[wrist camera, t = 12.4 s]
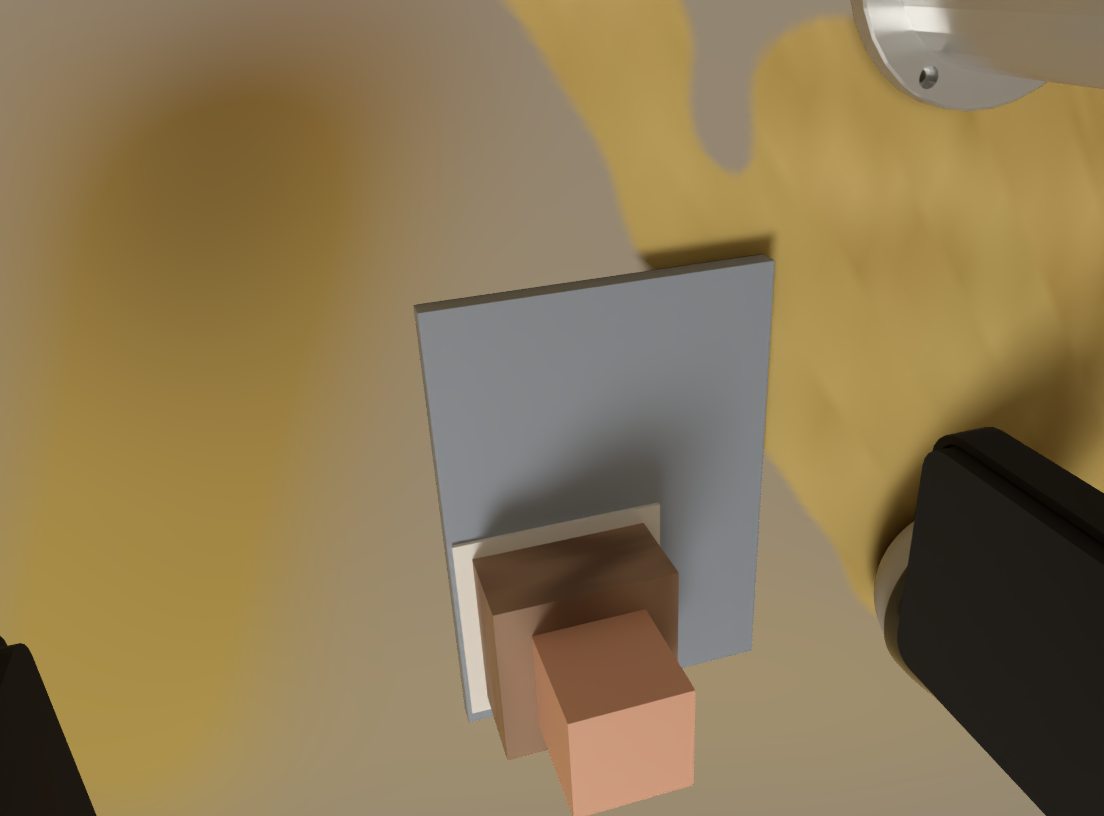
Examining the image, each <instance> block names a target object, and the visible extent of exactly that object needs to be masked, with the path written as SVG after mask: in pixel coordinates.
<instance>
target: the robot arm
mask: <svg viewBox="0 0 1104 816" xmlns="http://www.w3.org/2000/svg"><path fill="white" fill-rule="evenodd" d="M851 5H852V10H853V15H854V20H855V24H856V27H857V29H858V32H859V34H860V37H861V39H862V42H863V45H864V47H865V50H866V52H867V53H868V55H869V56H870V58H871V59H872V61H873V62H874V64H875V65H876V67H877V68H878V70H879V71H880V73H881V74H882V75H883V76H884V77H885V78H886V79H887V80H888V81H890V82H891V83H892V84H893V85H894V86H895V87H896V88H897V89H898V90H899V91H901V92H903V93H904V94H906V95H908V96H910V97H912V98H913V99H915V100H917V101H919V102H921V103H925V104H929V105H933V106H937V107H941V108H945V109H953V110H961V111H975V110H984V109H993V108H996V107H999V106H1001V105H1004V104H1007V103H1010V102H1013V101H1016V100H1018V99H1020V98H1022V97H1024V96H1026V95H1027V94H1029V93H1031V92H1033V91H1034V90H1036V89H1038V88H1040V87H1042V86H1043V85H1044V84H1045V83H1047V82H1055V83H1062V84H1069V85H1076V86H1084V87H1091V88H1098V89H1104V0H851ZM897 644H898V649H899V652H900V655H901V657H902V659H903V661H904V663H905V664H906V666H907V667H908V668H909V669H910V671H911V672H912V673H913V674H914V675H915V676H916V677H917V678H918V679H919V680H920V681H921V682H922V683H923V684H924V686H925V687H926V688H927V689H928V690H929V691H930V692H931V693H932V694H933V695H934V696H935V697H936V698H937V699H938V700H939V701H940V703H941V704H943V706H944V707H945V708H946V709H947V710H948V711H949V712H950V713H951V714H952V715H953V716H954V718H955V719H956V720H957V721H958V722H959V723H960V724H961V725H962V726H963V727H964V728H965V729H966V730H967V732H968V733H969V734H970V735H971V736H972V737H973V738H974V739H975V740H976V741H977V742H978V743H979V744H980V745H981V747H982V748H983V749H984V750H985V751H986V752H987V753H988V754H989V755H990V756H991V757H992V758H993V759H994V760H995V761H996V763H997V764H998V765H999V766H1000V767H1001V768H1002V769H1003V770H1004V771H1005V772H1006V773H1007V774H1008V775H1009V776H1010V777H1011V779H1012V780H1013V781H1014V782H1015V783H1016V784H1017V785H1018V786H1019V787H1020V788H1021V789H1022V790H1023V791H1024V793H1026V795H1027V796H1028V797H1029V798H1030V799H1031V800H1032V801H1033V802H1034V803H1035V804H1036V805H1037V806H1038V808H1039V809H1040V810H1041V811H1042V812H1043V813H1044V814H1045V815H1046V816H1104V493H1102V492H1101V491H1099V490H1097V489H1096V488H1094V487H1092V486H1091V485H1089V484H1088V483H1086V482H1084V481H1083V480H1081V479H1080V478H1078V477H1076V476H1075V475H1073V474H1071V473H1070V472H1068V471H1067V470H1065V469H1063V468H1062V467H1060V466H1058V465H1057V464H1055V463H1054V462H1052V461H1050V460H1049V459H1047V458H1045V457H1044V456H1042V455H1041V454H1039V453H1037V452H1036V451H1034V450H1032V449H1031V448H1029V447H1028V446H1026V445H1024V444H1023V443H1021V442H1019V441H1018V440H1016V439H1015V438H1013V437H1011V436H1010V435H1008V434H1006V433H1005V432H1003V431H1002V430H999V429H997V428H994V427H984V428H979V429H974V430H969V431H965V432H960V433H955V434H950V435H945V436H944V437H942V438H940V439H939V440H938V441H937V442H936V444H935V445H934V448H933V451H932V452H930V453H928V455H927V456H926V457H925V459H924V463H923V467H922V474H921V480H920V487H919V493H918V500H917V507H916V513H915V520H914V526H913V533H912V539H911V546H910V553H909V559H908V566H907V572H906V579H905V586H904V592H903V599H902V605H901V612H900V619H899V625H898V632H897ZM0 816H96V813H95V811H94V808H93V806H92V803H91V801H90V799H89V796H88V793H87V791H86V788H85V786H84V784H83V781H82V779H81V776H80V773H79V771H78V769H77V766H76V763H75V761H74V758H73V756H72V753H71V751H70V749H69V746H68V743H67V741H66V738H65V736H64V733H63V731H62V729H61V726H60V724H59V721H58V719H57V716H56V714H55V711H54V709H53V706H52V704H51V701H50V699H49V696H48V694H47V691H46V689H45V686H44V684H43V681H42V679H41V676H40V674H39V671H38V669H37V666H36V664H35V661H34V659H33V656H32V654H31V652H30V650H29V649H28V647H27V646H26V645H25V644H21V643H19V644H14V645H9V646H7V644H6V642H5V640H4V639H3V638H2V637H1V636H0Z"/></svg>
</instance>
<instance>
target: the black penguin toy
mask: <svg viewBox="0 0 1104 816" xmlns="http://www.w3.org/2000/svg"><path fill="white" fill-rule="evenodd" d="M913 526H914V521H913V522H912V523H911V524H909V525H908V526H907V527H906V528H905V529H904V530H903V531H902V532H900V533H899V535H898V536H897V537H896V538H895V539H894V540H893V542H892V543H891V544H890V546H889V547H888V549H887V550H886V552H885V554H884V556H883V558H882V560H881V562H880V565H879V567H878V570H877V574H876V579H875V586H874V603H875V609H876V614H877V617H878V621H879V624H880V626H881V628H882V630H883V633H884V638H885V642H886V646H887V648H888V651H889V653H890V654H891V656H892V657H893V659H894V660H895V661H896V663H897V664H898V665H899V666H900V667H901V668H902V669H903V670H904V671H905V672H906V673H907V674H908V675H909V676H910V677H911V678H912V679H913V680H914V681H915V682H916V683H918V684H919V685H920V686H921V687H923V688H924V689H925V690H926V691H927V692H929V693H930V694H931V695H932V696H934V695H933V694H932V693H931V692H930V691H929V690H928V689H927V688H926V687H925V686H924V684H923V683H922V682H921V681H920V680H919V679H918V678H917V677H916V676H915V675H914V674H913V673H912V672H911V671H910V669H909V668H908V667H907V666H906V664H905V663H904V661H903V659H902V657H901V655H900V652H899V649H898V644H897V632H898V625H899V619H900V612H901V605H902V599H903V592H904V586H905V579H906V572H907V566H908V559H909V553H910V546H911V539H912V533H913ZM934 697H935V696H934ZM935 698H936V697H935ZM936 699H937V698H936ZM937 700H938V699H937Z"/></svg>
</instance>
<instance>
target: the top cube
mask: <svg viewBox="0 0 1104 816" xmlns="http://www.w3.org/2000/svg"><path fill="white" fill-rule="evenodd" d="M532 647H533V659H534V671H535V682H536V694H537V706H538V718H539V727H540V730H541V732H542V735H543V738H544V741H545V743H546V746H547V749H548V751H549V754H550V756H551V759H552V762H553V765H554V767H555V770H556V772H557V775H558V778H559V781H560V783H561V786H562V788H563V792H564V794H565V797H566V799H567V802H568V805H569V808H570V810H571V813H572V816H588V815H591V814H595V813H598V812H602V811H605V810H609V809H612V808H616V807H619V806H622V805H626V804H629V803H633V802H636V801H639V800H643V799H646V798H650V797H653V796H657V795H660V794H664V793H667V792H670V791H674V790H677V789H681V788H684V787H688V786H691V785H693V782H694V733H695V689H694V687H693V686H692V684H691V682H690V681H689V679H688V678H687V676H686V674H685V673H684V671H683V669H682V668H681V666H680V664H679V663H678V661H677V659H676V658H675V656H674V654H673V653H672V651H671V650H670V648H669V646H668V645H667V643H666V641H665V640H664V638H663V636H662V635H661V633H660V631H659V630H658V628H657V627H656V625H655V623H654V622H653V620H652V618H651V617H650V615H649V613H648V612H647V610H646V609H644V610H640V611H636V612H632V613H627V614H623V615H619V616H615V617H611V618H607V619H602V620H598V621H594V622H590V623H586V624H582V625H577V626H573V627H569V628H565V629H561V630H557V631H552V632H548V633H544V634H540V635H536V636H532Z"/></svg>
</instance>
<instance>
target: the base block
mask: <svg viewBox="0 0 1104 816" xmlns="http://www.w3.org/2000/svg"><path fill="white" fill-rule="evenodd" d="M472 563H473V572H474V580H475V589H476V598H477V607H478V616H479V625H480V634H481V643H482V652H483V661H484V670H485V679H486V688H487V697H488V700H489V703H490V706H491V710H492V713H493V716H494V719H495V722H496V725H497V729H498V732H499V735H500V738H501V741H502V744H503V747H504V751H505V754H506V757H507V760H511V759H515V758H518V757H522V756H526V755H529V754H533V753H537V752H541V751H545V750H548V749H547V746H546V743H545V741H544V738H543V735H542V732H541V730H540V727H539V718H538V706H537V694H536V682H535V671H534V659H533V647H532V636H536V635H540V634H544V633H548V632H552V631H557V630H561V629H565V628H569V627H573V626H577V625H582V624H586V623H590V622H594V621H598V620H602V619H607V618H611V617H615V616H619V615H623V614H627V613H632V612H636V611H640V610H644V609H646V610H647V612H648V613H649V615H650V617H651V618H652V620H653V622H654V623H655V625H656V627H657V628H658V630H659V631H660V633H661V635H662V636H663V638H664V640H665V641H666V643H667V645H668V646H669V648H670V650H671V651H672V653H673V654H674V656H675V658H676V659H677V661H678V606H679V573H678V571H677V570H676V568H675V567H674V565H673V564H672V563H671V561H670V560H669V558H668V557H667V555H666V554H665V553H664V551H663V550H662V548H661V547H660V545H659V544H658V543H657V541H656V540H655V538H654V537H653V535H652V534H651V533H650V531H649V530H648V528H647V527H646V525H645V524H644V523H641V524H636V525H631V526H626V527H622V528H617V529H612V530H608V531H603V532H598V533H594V534H589V535H584V536H580V537H575V538H570V539H566V540H561V541H556V542H551V543H547V544H542V545H537V546H533V547H528V548H523V549H519V550H514V551H509V552H505V553H500V554H495V555H491V556H486V557H481V558H477V559H472Z"/></svg>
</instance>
